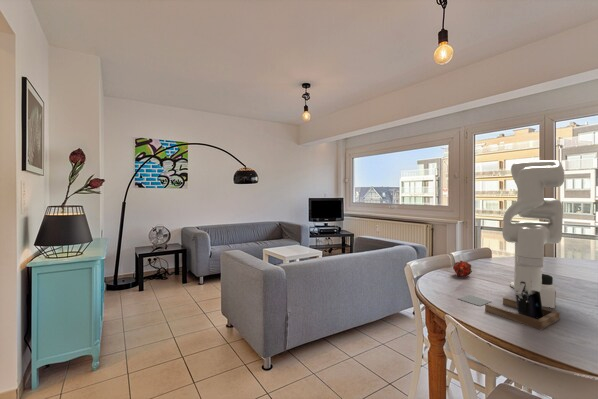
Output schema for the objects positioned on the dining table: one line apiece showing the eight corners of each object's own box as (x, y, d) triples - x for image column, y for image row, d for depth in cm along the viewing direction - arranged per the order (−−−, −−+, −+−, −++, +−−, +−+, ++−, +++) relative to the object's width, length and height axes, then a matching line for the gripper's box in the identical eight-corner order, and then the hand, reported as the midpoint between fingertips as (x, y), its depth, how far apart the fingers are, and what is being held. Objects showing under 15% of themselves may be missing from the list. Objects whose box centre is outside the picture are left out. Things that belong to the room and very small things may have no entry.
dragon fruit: (466, 276, 163) (461, 284, 154) (452, 265, 167) (446, 272, 158) (476, 265, 159) (472, 273, 150) (462, 255, 162) (457, 262, 154)
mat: (469, 295, 129) (469, 294, 129) (491, 301, 121) (491, 301, 121) (457, 298, 124) (457, 298, 124) (479, 306, 116) (479, 305, 116)
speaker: (544, 316, 106) (541, 288, 106) (544, 323, 102) (541, 293, 102) (518, 313, 111) (515, 286, 111) (517, 319, 106) (514, 290, 106)
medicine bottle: (555, 308, 114) (556, 278, 114) (532, 304, 118) (532, 275, 118) (551, 302, 120) (552, 273, 120) (529, 299, 124) (530, 271, 124)
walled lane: (504, 303, 120) (504, 297, 119) (559, 319, 104) (559, 312, 104) (485, 310, 112) (485, 304, 112) (541, 329, 97) (541, 322, 97)
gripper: (528, 256, 113) (527, 302, 114) (506, 262, 104) (505, 311, 105) (553, 260, 107) (551, 309, 107) (531, 266, 98) (530, 319, 99)
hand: (528, 310), depth 106 cm, fingers closed on speaker, 6 cm apart
